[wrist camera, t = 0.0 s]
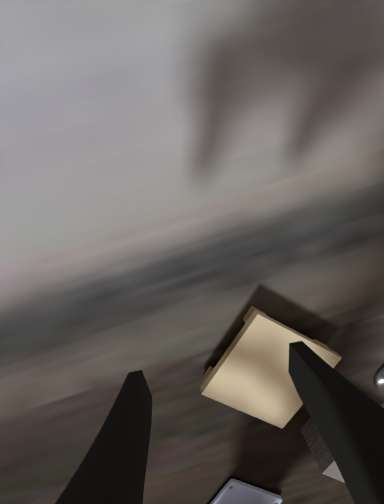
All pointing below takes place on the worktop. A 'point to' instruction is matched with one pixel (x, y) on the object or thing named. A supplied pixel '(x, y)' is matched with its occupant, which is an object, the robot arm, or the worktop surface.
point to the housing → (320, 451)
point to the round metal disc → (379, 378)
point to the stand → (261, 370)
